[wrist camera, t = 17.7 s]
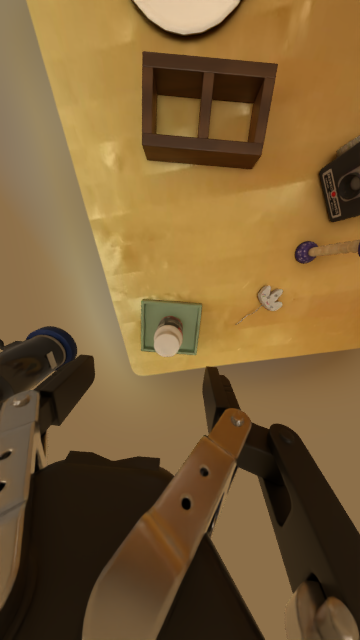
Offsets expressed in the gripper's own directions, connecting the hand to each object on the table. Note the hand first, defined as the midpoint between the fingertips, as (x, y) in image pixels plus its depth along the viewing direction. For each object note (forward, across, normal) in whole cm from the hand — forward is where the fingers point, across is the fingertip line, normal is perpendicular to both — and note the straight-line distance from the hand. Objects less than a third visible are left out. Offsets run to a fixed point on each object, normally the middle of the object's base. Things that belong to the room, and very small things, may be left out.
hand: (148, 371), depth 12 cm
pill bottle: (+27, 0, +7) cm, 28 cm away
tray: (+27, 0, +7) cm, 28 cm away
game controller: (+28, -19, 0) cm, 33 cm away
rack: (+27, -3, -30) cm, 41 cm away
